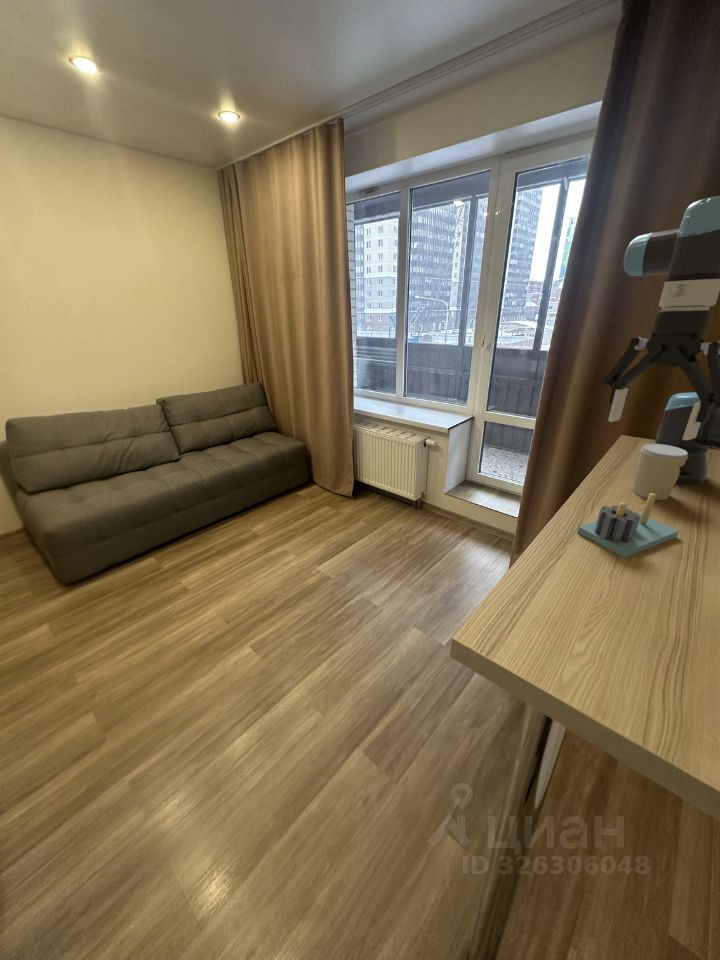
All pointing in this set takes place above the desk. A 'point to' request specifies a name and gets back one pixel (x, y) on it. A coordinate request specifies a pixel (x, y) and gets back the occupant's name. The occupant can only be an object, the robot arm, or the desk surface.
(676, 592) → the desk surface
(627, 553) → the carrier
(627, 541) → the gear
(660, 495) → the coffee cup
